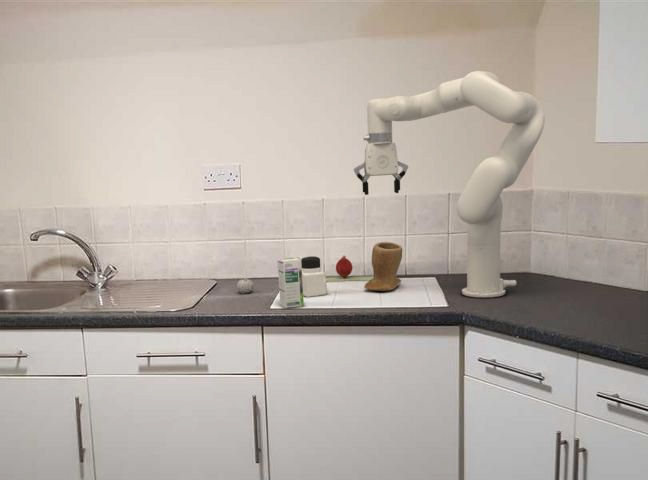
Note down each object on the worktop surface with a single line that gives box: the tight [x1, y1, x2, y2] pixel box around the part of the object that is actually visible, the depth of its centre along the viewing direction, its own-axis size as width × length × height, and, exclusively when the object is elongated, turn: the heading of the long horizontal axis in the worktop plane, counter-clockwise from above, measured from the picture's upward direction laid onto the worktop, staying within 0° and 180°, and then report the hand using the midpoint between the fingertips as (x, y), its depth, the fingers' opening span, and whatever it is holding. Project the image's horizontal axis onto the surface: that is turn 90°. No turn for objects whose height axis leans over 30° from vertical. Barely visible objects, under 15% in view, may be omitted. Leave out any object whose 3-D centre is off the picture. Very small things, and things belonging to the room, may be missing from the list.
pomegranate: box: [335, 255, 353, 278], centre depth 264 cm, size 6×6×8 cm
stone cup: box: [364, 241, 403, 292], centre depth 243 cm, size 15×12×15 cm
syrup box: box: [277, 256, 305, 309], centre depth 226 cm, size 6×6×14 cm
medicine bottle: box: [300, 255, 328, 298], centre depth 242 cm, size 7×7×12 cm
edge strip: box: [326, 275, 374, 282], centre depth 264 cm, size 20×6×1 cm, turn 81°
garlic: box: [236, 277, 254, 295], centre depth 250 cm, size 6×5×5 cm
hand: (381, 193), depth 242 cm, fingers open, 9 cm apart
